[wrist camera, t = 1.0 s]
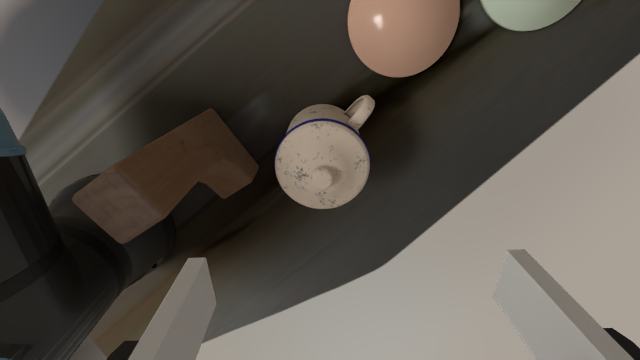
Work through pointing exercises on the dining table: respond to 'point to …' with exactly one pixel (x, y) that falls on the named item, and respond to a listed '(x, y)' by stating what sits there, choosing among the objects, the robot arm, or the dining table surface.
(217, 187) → the wooden block
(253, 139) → the dining table surface
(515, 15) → the sage coaster
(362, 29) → the pink coaster
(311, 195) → the teacup with lid
